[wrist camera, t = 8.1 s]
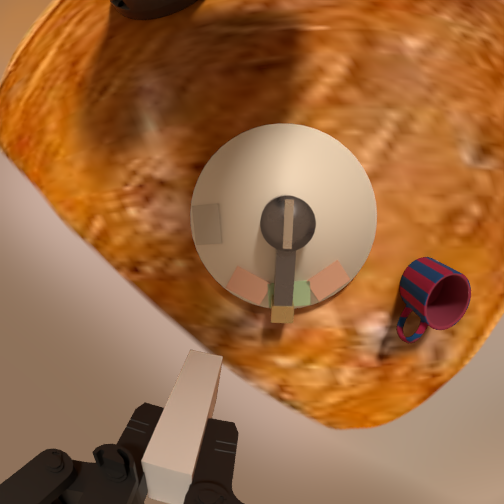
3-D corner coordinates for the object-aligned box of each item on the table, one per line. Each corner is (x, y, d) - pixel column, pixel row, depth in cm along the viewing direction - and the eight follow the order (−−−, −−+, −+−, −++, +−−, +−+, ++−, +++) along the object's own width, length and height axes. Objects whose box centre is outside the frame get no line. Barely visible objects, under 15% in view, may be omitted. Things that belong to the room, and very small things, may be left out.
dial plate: (187, 135, 30) (182, 132, 29) (366, 125, 29) (371, 122, 27) (204, 307, 35) (201, 313, 33) (370, 297, 33) (375, 302, 32)
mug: (450, 280, 32) (478, 298, 26) (398, 334, 34) (419, 361, 28) (425, 245, 32) (455, 259, 25) (370, 304, 33) (390, 329, 27)
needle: (261, 193, 30) (260, 194, 26) (310, 195, 29) (317, 197, 25) (258, 308, 32) (256, 325, 28) (303, 309, 32) (307, 326, 28)
